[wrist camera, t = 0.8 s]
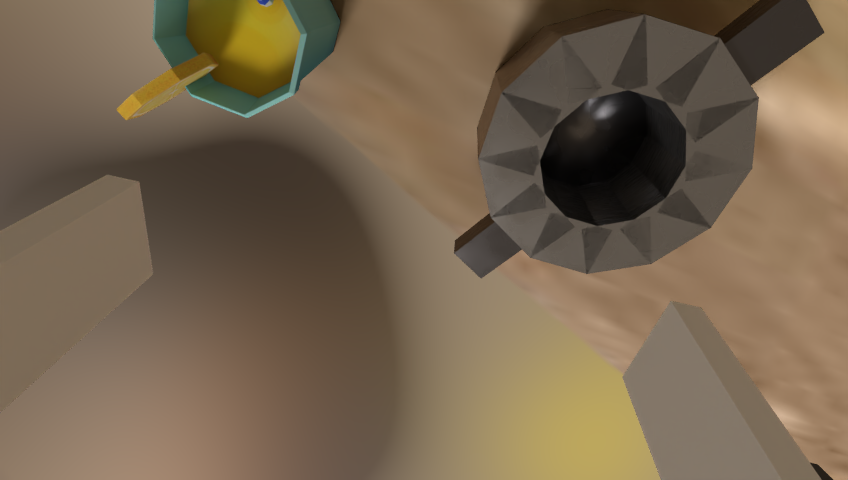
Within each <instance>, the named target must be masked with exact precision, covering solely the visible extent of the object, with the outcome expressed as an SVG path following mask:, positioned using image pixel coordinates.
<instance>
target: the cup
mask: <svg viewBox="0 0 848 480" xmlns="http://www.w3.org/2000/svg"><path fill="white" fill-rule="evenodd" d="M339 25H340V20H339V18H338V15H337V13H336V11H335V9H334V7H333V5H332V3H331V1H330V0H154V21H153V40H154V41H155V43H156V44H157V46H158V47H159V49H160V50H161V52H162V53H163V55H164V56H165V58H166V59H167V61H168V62H169V64H170V65H171V67H172V69H170V70H168V71H166V72H165V73H164V74H162V75H160V76H159V77H157V78H156V79H154V80H153V81H151V82H150V83H148V84H146V85H145V86H143V87H142V88H140V89H139V90H137V91H136V92H134V93H133V94H131V95H130V96H129V98H128V99H127V100H125V101H124V102H123V104H121V105H120V106H119V107H118V108H117V111H118V112H119V113H120V114H121V115H122V116H123V118H124V119H125V120H129V119H133V118H136V117H140V116H142V115H143V114H145V113H147V112H149V111H151V110H152V109H154V108H156V107H158V106H160V105H162V104H163V103H165V102H167V101H169V100H170V99H172V98H174V97H175V96H177V95H178V94H180V93H181V92H183V91H184V90H186V89H187V91H188V92H189V94H190V95H191V96H192V97H194V98H197V99H199V100H202V101H205V102H207V103H210V104H212V105H215V106H217V107H220V108H222V109H225V110H228V111H230V112H233V113H236V114H238V115H241V116H243V117H246V118H248V117H250V116H252V115H254V114H256V113H258V112H260V111H262V110H264V109H266V108H268V107H270V106H272V105H274V104H276V103H278V102H280V101H282V100H284V99H286V98H288V97H290V96H292V95H294V94H295V93H296V92H297V91H298V89H299V85H300V81H301V80H302V79H303V78H304V77H305V76H306V75H307V74H309V73H310V72H311V71H312V70H313V69H314V68H315V67H316V66H318V65H319V64H320V63H321V62H322V61H323V60H324V59H326V58H327V57H328V56H329V55H330V54H331V53H332V52H333V50H334V46H335V42H336V38H337V34H338V29H339Z"/></svg>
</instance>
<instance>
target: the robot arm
mask: <svg viewBox="0 0 848 480" xmlns="http://www.w3.org/2000/svg"><path fill="white" fill-rule="evenodd" d="M140 191H141V190H140V184H139V182H138V181H133V180H129V179H124V178H120V177H115V176H111V175H106V176H104V177H102V178H101V179H98V180H96V181H95V182H93V183H91V184H89V185H87V186H85V187H83V188H81V189H79V190H77V191H76V192H74V193H72V194H70V195H68V196H66V197H64V198H62V199H60V200H58V201H56V202H55V203H53V204H51V205H49V206H47V207H45V208H43V209H41V210H39V211H37V212H35V213H34V214H32V215H30V216H28V217H26V218H24V219H22V220H20V221H18V222H16V223H14V224H13V225H11V226H9V227H7V228H5V229H3V230H1V231H0V413H1V412H2V411H3V410H4V409H5V408H6V407H7V406H8V405H9V404H10V403H12V402H13V401H14V400H15V399H16V398H17V397H18V396H19V395H20V394H21V393H22V392H24V391H25V390H26V389H27V388H28V387H29V386H30V385H31V384H32V383H34V382H35V381H36V380H37V379H38V378H39V377H40V376H41V375H42V374H44V372H46V371H47V370H48V369H49V368H50V367H51V366H52V365H53V364H54V363H56V362H57V361H58V360H59V359H60V358H61V357H62V356H63V355H64V354H66V352H68V351H69V350H70V349H71V348H72V347H73V346H74V345H75V344H77V343H78V342H79V341H80V340H81V339H82V338H83V337H84V336H85V335H86V334H87V333H89V332H90V331H91V330H92V329H93V328H94V327H95V326H96V325H97V324H99V323H100V322H101V321H102V320H103V319H104V318H105V317H106V316H107V315H108V314H109V313H111V312H112V311H113V310H114V309H115V308H116V307H117V306H118V305H119V304H120V303H122V302H123V301H124V300H125V299H126V298H127V297H128V296H129V295H130V294H131V293H133V292H134V291H135V290H136V289H137V288H138V287H139V286H140V285H141V284H142V283H144V282H145V281H146V280H147V279H148V278H149V277H150V276H151V275H152V274H153V269H152V263H151V256H150V249H149V243H148V236H147V230H146V223H145V218H144V210H143V204H142V197H141V192H140ZM623 380H624V383H625V385H626V388H627V391H628V393H629V396H630V399H631V401H632V404H633V407H634V409H635V412H636V415H637V417H638V420H639V423H640V425H641V428H642V430H643V433H644V436H645V439H646V441H647V443H648V446H649V449H650V452H651V454H652V457H653V460H654V462H655V465H656V468H657V470H658V473H659V476H660V478H661V480H833V479H832V478H831V477H830V476H829V475H828V474H827V473H826V472H825V471H824V470H823V469H822V468H821V467H820V466H819V465H818V464H813V463H810V462H809V461H808V459H807V458H806V457H805V455H804V454H803V452H802V451H801V449H800V448H799V447H798V445H797V444H796V442H795V441H794V439H793V438H792V437H791V435H790V434H789V432H788V431H787V429H786V428H785V427H784V425H783V424H782V422H781V421H780V419H779V418H778V417H777V415H776V414H775V412H774V411H773V409H772V408H771V407H770V405H769V404H768V402H767V401H766V399H765V398H764V397H763V395H762V394H761V392H760V391H759V389H758V388H757V387H756V385H755V384H754V382H753V381H752V379H751V378H750V377H749V375H748V374H747V372H746V371H745V369H744V368H743V367H742V365H741V364H740V362H739V361H738V359H737V358H736V357H735V355H734V354H733V352H732V351H731V349H730V348H729V347H728V345H727V344H726V342H725V341H724V339H723V338H722V337H721V335H720V334H719V332H718V331H717V329H716V328H715V327H714V325H713V324H712V322H711V321H710V319H709V318H708V317H707V315H706V314H705V312H704V311H703V309H702V308H701V307H697V306H692V305H688V304H683V303H679V302H674V301H670V303H669V305H668V306H667V308H666V309H665V311H664V312H663V314H662V316H661V317H660V319H659V320H658V322H657V323H656V325H655V327H654V328H653V330H652V331H651V333H650V334H649V336H648V338H647V339H646V341H645V342H644V344H643V345H642V347H641V349H640V350H639V352H638V353H637V355H636V356H635V358H634V360H633V361H632V363H631V364H630V366H629V367H628V369H627V371H626V372H625V374H624V375H623Z"/></svg>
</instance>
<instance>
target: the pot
mask: <svg viewBox="0 0 848 480" xmlns="http://www.w3.org/2000/svg"><path fill="white" fill-rule="evenodd" d="M823 33H824V31H823V29H822V27H821V25H820V23H819V22H818V20H817V18H816V16H815V14H814V13H813V11H812V9H811V7H810V5H809V4H808V2H807V0H759V1H758V2H757V3H756V4H754V5H753V6H752V7H751V8H749V9H748V10H747V11H745V12H744V13H743V14H742V15H740V16H739V17H738V18H737V19H735V20H734V21H733V22H731V23H730V24H729V25H728V26H726V27H725V28H724V29H723V30H721V31H720V32H719V33H718V34H716V35H715V36H711V35H708V34H705V33H702V32H699V31H696V30H692V29H689V28H686V27H683V26H680V25H677V24H674V23H670V22H667V21H664V20H661V19H658V18H655V17H652V16H648V15H646V14H641V13H633V12H625V11H618V10H610V9H607V10H604V11H600V12H596V13H593V14H589V15H585V16H582V17H578V18H574V19H571V20H567V21H563V22H560V23H556V24H552V25H549V26H545V27H543V28H542V29H541V30H540V31H539V32H538V33H537V34H535V35H534V36H533V37H532V38H531V39H530V40H529V41H528V42H527V43H526V44H525V45H524V46H523V47H522V48H521V49H520V50H519V51H518V52H517V53H516V54H514V55H513V56H512V57H511V58H510V59H509V60H508V61H507V62H506V63H505V64H504V65H503V66H502V67H501V68H500V69H499V70H498V71H497V72H496V74H495V77H494V80H493V82H492V85H491V88H490V91H489V94H488V97H487V100H486V103H485V106H484V109H483V112H482V115H481V118H480V121H479V124H478V127H477V138H478V160H479V164H480V169H481V174H482V178H483V183H484V188H485V193H486V197H487V202H488V207H489V211H490V213H489V214H488V215H487V216H485V217H484V218H483V219H482V220H480V221H479V222H478V223H477V224H475V225H474V226H473V227H471V228H470V229H469V230H468V231H466V232H465V233H464V234H463V235H461V236H460V237H459V238H458V239H456V240H455V250H454V254H456V255H457V256H458V257H459V258H460V259H461V260H462V261H463V262H464V263H465V264H466V265H467V266H468V267H469V268H471V269H472V270H473V271H474V272H475V273H476V274H477V275H478V276H479V277H480V278H482V277H484V276H485V275H487V274H488V273H489V272H491V271H492V270H494V269H495V268H496V267H498V266H499V265H501V264H502V263H503V262H505V261H506V260H508V259H509V258H510V257H512V256H513V255H515V254H516V253H517V252H519V251H520V250H523V251H524V252H525V253H526V254H527V255H528V256H529V257H530V258H534V259H537V260H541V261H544V262H548V263H551V264H555V265H558V266H562V267H565V268H569V269H572V270H576V271H579V272H583V273H586V274H589V273H595V272H602V271H608V270H615V269H621V268H628V267H634V266H641V265H647V264H652V263H653V262H655V261H657V260H658V259H660V258H661V257H663V256H665V255H666V254H668V253H670V252H671V251H673V250H675V249H676V248H678V247H680V246H681V245H683V244H685V243H686V242H688V241H689V240H691V239H693V238H694V237H696V236H698V235H699V234H701V233H703V232H704V231H706V230H708V229H709V228H711V226H712V225H713V224H714V222H715V221H716V219H717V218H718V216H719V215H720V214H721V212H722V211H723V209H724V208H725V206H726V205H727V204H728V202H729V201H730V199H731V198H732V196H733V195H734V193H735V192H736V191H737V189H738V188H739V186H740V185H741V183H742V182H743V181H744V179H745V178H746V176H747V175H748V173H749V172H750V171H751V169H752V163H753V153H754V142H755V131H756V120H757V110H758V99H759V97H758V96H757V95H756V93H755V92H754V90H753V88H752V87H751V85H752V84H753V83H755V82H756V81H757V80H759V79H760V78H762V77H763V76H764V75H766V74H767V73H769V72H770V71H771V70H773V69H774V68H776V67H777V66H778V65H780V64H781V63H783V62H784V61H785V60H787V59H788V58H790V57H791V56H792V55H794V54H795V53H797V52H798V51H799V50H801V49H802V48H804V47H805V46H806V45H808V44H809V43H811V42H812V41H813V40H815V39H816V38H818V37H819V36H820V35H822V34H823Z"/></svg>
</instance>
